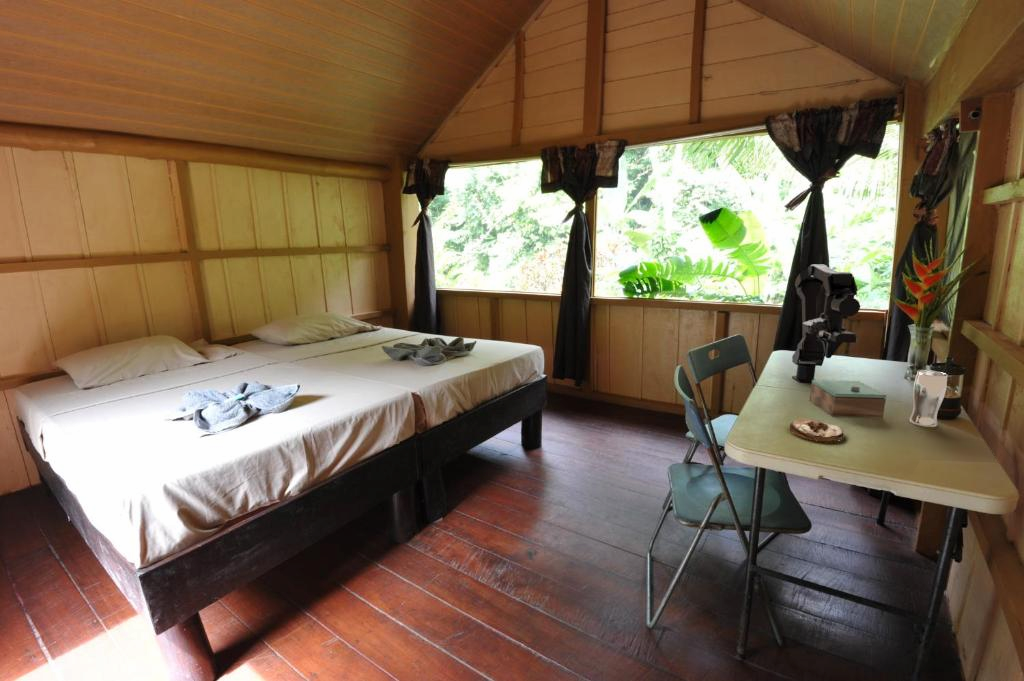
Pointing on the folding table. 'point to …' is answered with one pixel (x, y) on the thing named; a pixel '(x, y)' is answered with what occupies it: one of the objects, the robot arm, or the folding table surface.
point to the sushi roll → (816, 430)
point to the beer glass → (927, 397)
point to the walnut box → (847, 404)
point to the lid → (848, 389)
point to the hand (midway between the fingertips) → (827, 357)
